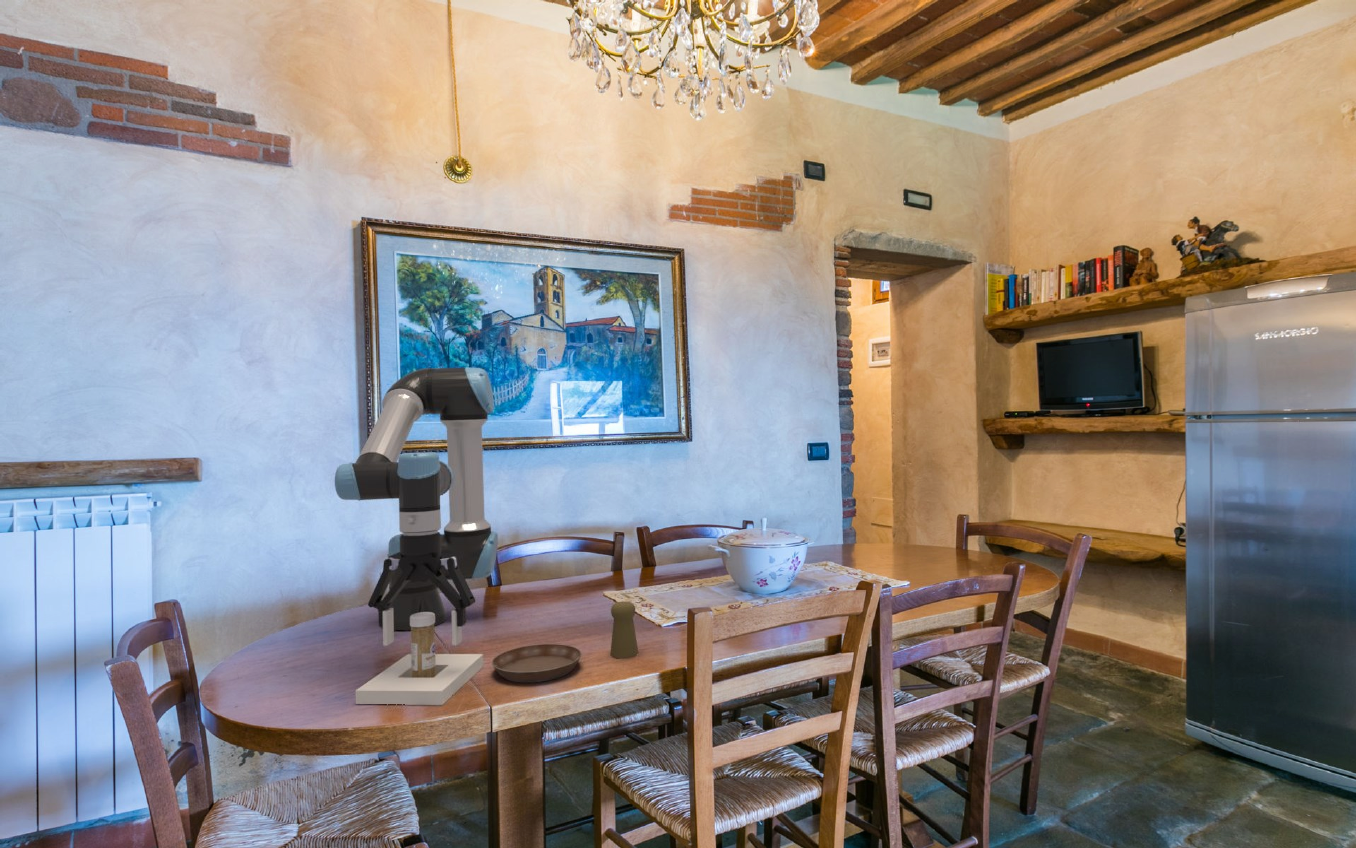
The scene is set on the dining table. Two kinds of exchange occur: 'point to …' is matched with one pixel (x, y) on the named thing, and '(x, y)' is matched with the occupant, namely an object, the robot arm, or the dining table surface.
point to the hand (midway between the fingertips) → (422, 643)
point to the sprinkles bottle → (423, 645)
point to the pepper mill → (623, 631)
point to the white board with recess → (420, 681)
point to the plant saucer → (536, 662)
